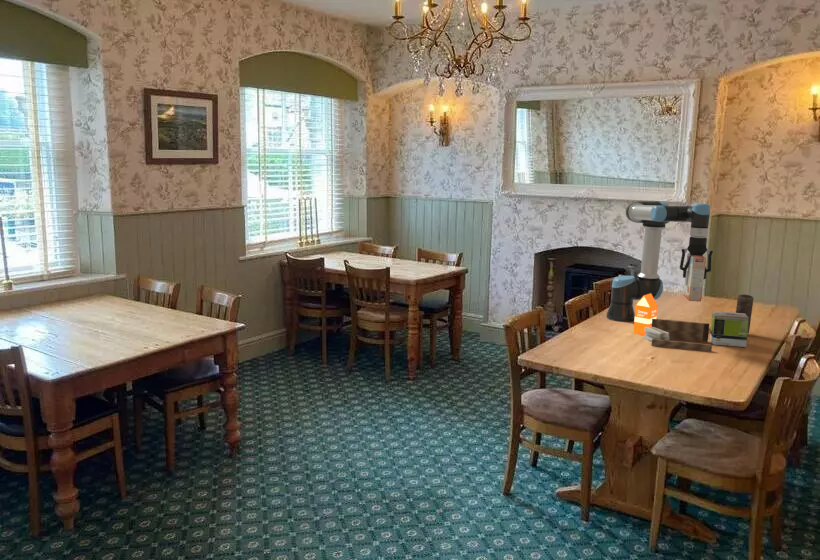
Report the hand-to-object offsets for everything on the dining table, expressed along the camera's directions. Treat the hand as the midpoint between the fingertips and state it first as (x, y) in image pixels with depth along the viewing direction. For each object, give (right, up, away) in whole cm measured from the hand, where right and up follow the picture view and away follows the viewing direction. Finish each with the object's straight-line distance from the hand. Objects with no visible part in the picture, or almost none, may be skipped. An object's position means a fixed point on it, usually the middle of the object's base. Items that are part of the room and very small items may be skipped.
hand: (693, 285), depth 318 cm
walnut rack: (-5, -28, +4) cm, 29 cm away
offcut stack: (-15, -28, +7) cm, 32 cm away
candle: (+35, -25, +25) cm, 49 cm away
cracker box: (0, -7, +1) cm, 7 cm away
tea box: (+19, -28, +6) cm, 35 cm away
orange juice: (-15, -25, +23) cm, 37 cm away
